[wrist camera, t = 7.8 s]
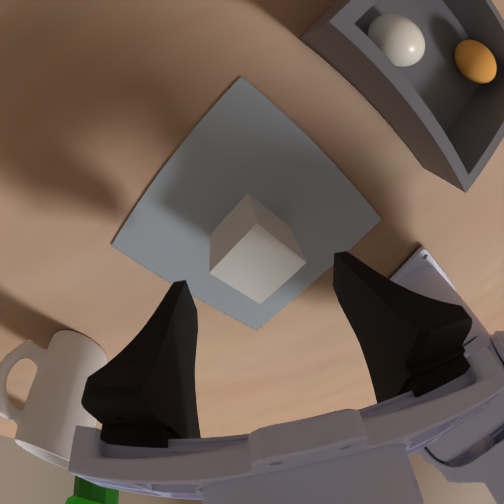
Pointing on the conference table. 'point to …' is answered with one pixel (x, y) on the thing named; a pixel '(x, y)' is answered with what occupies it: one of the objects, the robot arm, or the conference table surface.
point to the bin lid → (246, 211)
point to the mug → (52, 394)
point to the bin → (424, 78)
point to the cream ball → (397, 39)
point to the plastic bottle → (92, 493)
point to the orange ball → (475, 61)
